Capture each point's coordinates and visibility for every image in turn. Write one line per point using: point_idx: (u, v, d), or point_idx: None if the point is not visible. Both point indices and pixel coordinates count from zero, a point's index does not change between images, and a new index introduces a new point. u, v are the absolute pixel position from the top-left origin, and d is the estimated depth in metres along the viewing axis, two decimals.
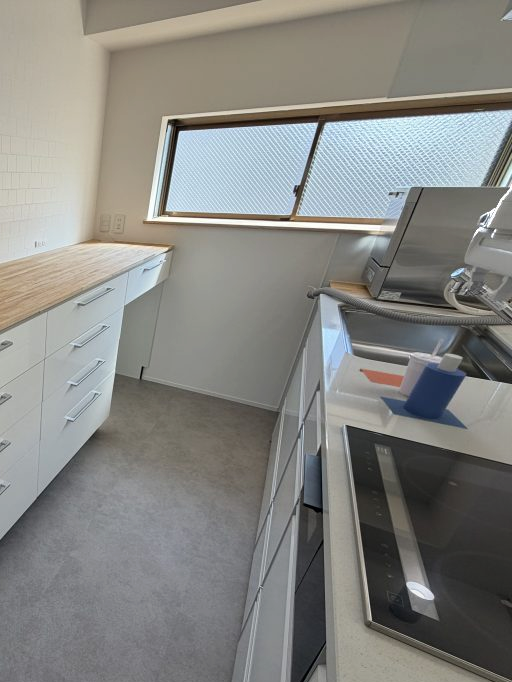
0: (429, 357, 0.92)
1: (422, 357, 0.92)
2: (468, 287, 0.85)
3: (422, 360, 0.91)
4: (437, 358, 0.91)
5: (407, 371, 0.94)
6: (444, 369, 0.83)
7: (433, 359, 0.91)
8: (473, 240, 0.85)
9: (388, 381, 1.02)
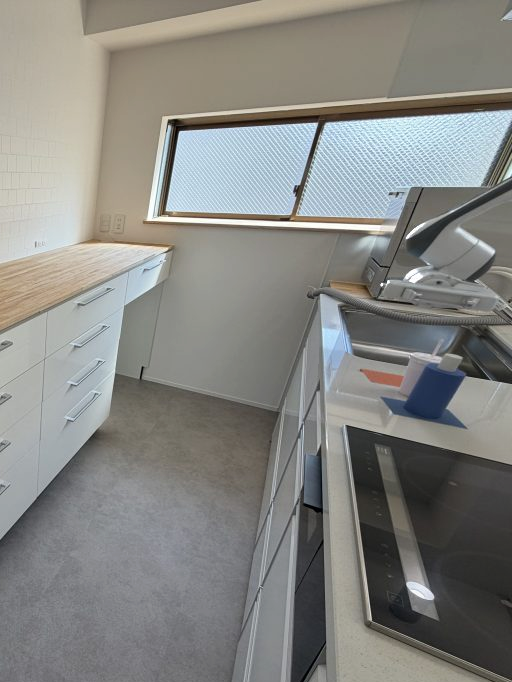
0: (429, 357, 0.92)
1: (422, 357, 0.92)
2: None
3: (422, 360, 0.91)
4: (437, 358, 0.91)
5: (407, 371, 0.94)
6: (444, 369, 0.83)
7: (433, 359, 0.91)
8: None
9: (388, 381, 1.02)
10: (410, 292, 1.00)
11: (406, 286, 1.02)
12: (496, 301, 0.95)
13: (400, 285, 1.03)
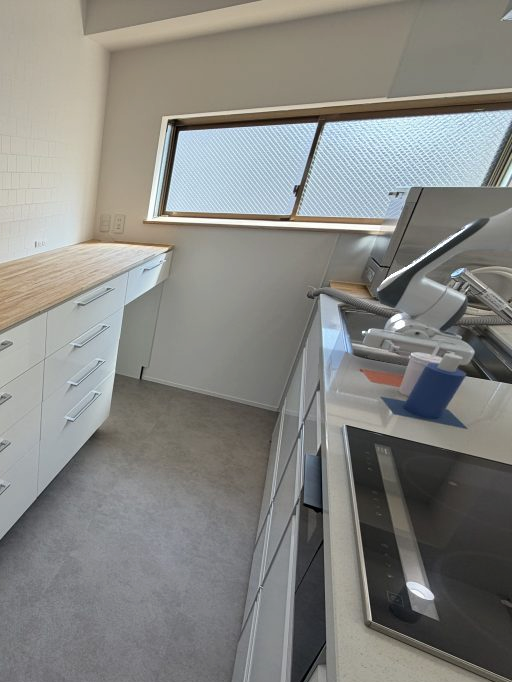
0: (429, 357, 0.92)
1: (422, 357, 0.92)
2: None
3: (422, 360, 0.91)
4: (437, 358, 0.91)
5: (407, 371, 0.94)
6: (444, 369, 0.83)
7: (433, 359, 0.91)
8: None
9: (388, 381, 1.02)
10: (389, 344, 1.03)
11: (385, 337, 1.05)
12: (471, 355, 0.97)
13: (379, 336, 1.06)
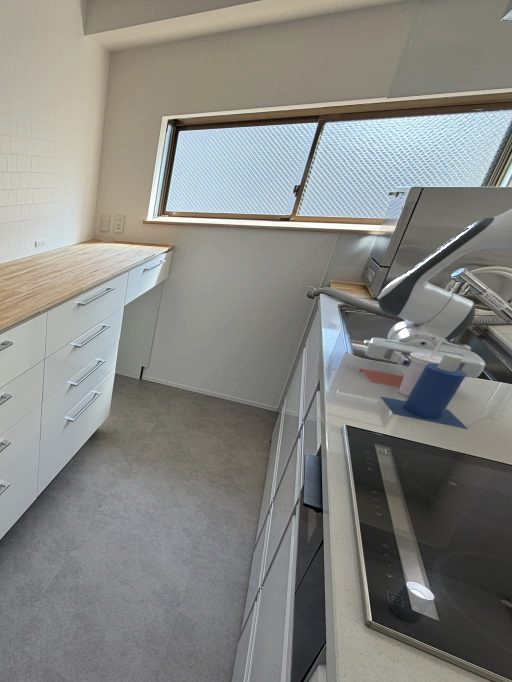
0: (429, 357, 0.92)
1: (422, 357, 0.92)
2: None
3: (422, 360, 0.91)
4: (437, 358, 0.91)
5: (407, 371, 0.94)
6: (444, 369, 0.83)
7: (433, 359, 0.91)
8: None
9: (388, 381, 1.02)
10: (398, 356, 0.96)
11: (389, 347, 0.98)
12: (482, 368, 0.91)
13: (383, 346, 0.99)
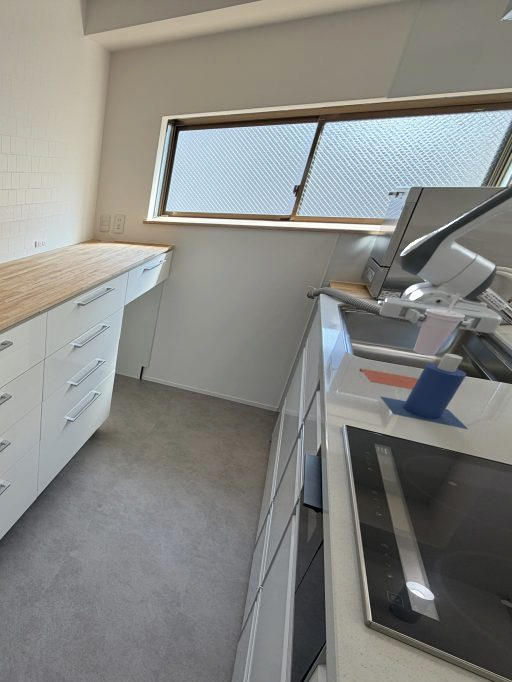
0: (445, 312, 0.91)
1: (438, 312, 0.91)
2: None
3: (438, 315, 0.91)
4: (453, 313, 0.91)
5: (422, 327, 0.94)
6: (444, 369, 0.83)
7: (449, 314, 0.91)
8: None
9: (388, 381, 1.02)
10: (414, 312, 0.96)
11: (404, 305, 0.98)
12: (498, 322, 0.90)
13: (398, 304, 0.98)
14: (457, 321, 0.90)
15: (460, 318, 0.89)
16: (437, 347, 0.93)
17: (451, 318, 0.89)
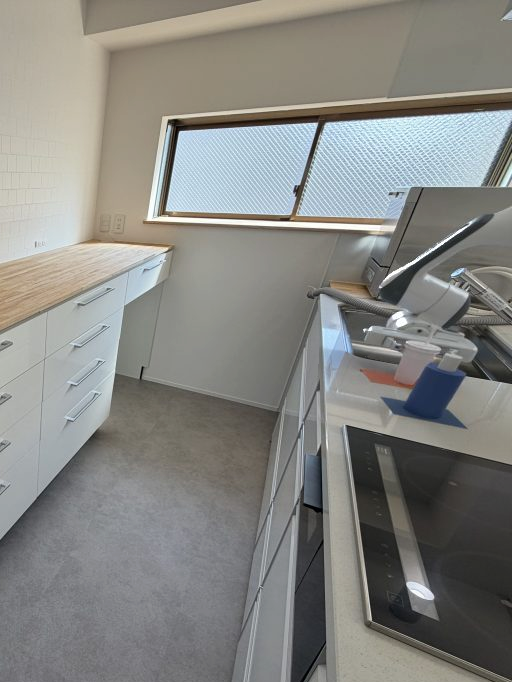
0: (423, 345, 0.97)
1: (416, 345, 0.98)
2: None
3: (416, 347, 0.97)
4: (430, 346, 0.97)
5: (402, 358, 1.00)
6: (444, 369, 0.83)
7: (427, 346, 0.97)
8: None
9: (388, 381, 1.02)
10: (390, 341, 1.02)
11: (387, 335, 1.04)
12: (474, 353, 0.96)
13: (381, 333, 1.04)
14: (434, 354, 0.96)
15: (436, 351, 0.95)
16: (416, 377, 0.99)
17: (428, 351, 0.96)
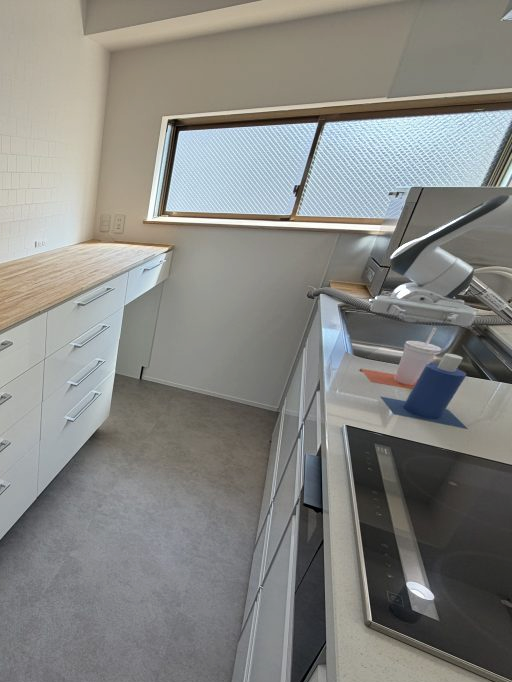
0: (423, 345, 0.97)
1: (416, 345, 0.98)
2: None
3: (416, 347, 0.97)
4: (430, 346, 0.97)
5: (402, 358, 1.00)
6: (444, 369, 0.83)
7: (427, 346, 0.97)
8: None
9: (388, 381, 1.02)
10: (395, 308, 1.09)
11: (392, 302, 1.11)
12: (474, 317, 1.03)
13: (386, 301, 1.11)
14: (434, 354, 0.96)
15: (436, 351, 0.95)
16: (416, 377, 0.99)
17: (428, 351, 0.96)
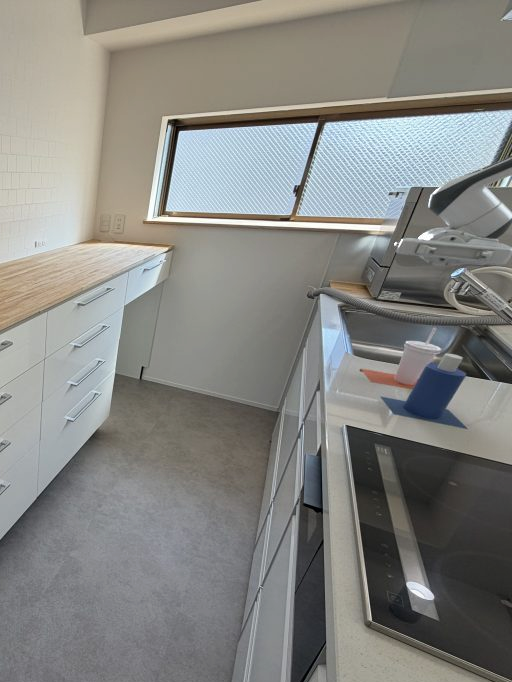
0: (423, 345, 0.97)
1: (416, 345, 0.98)
2: (482, 260, 0.96)
3: (416, 347, 0.97)
4: (430, 346, 0.97)
5: (402, 358, 1.00)
6: (444, 369, 0.83)
7: (427, 346, 0.97)
8: (491, 263, 1.01)
9: (388, 381, 1.02)
10: (424, 247, 1.02)
11: (420, 242, 1.04)
12: (510, 253, 0.96)
13: (414, 241, 1.04)
14: (434, 354, 0.96)
15: (436, 351, 0.95)
16: (416, 377, 0.99)
17: (428, 351, 0.96)
